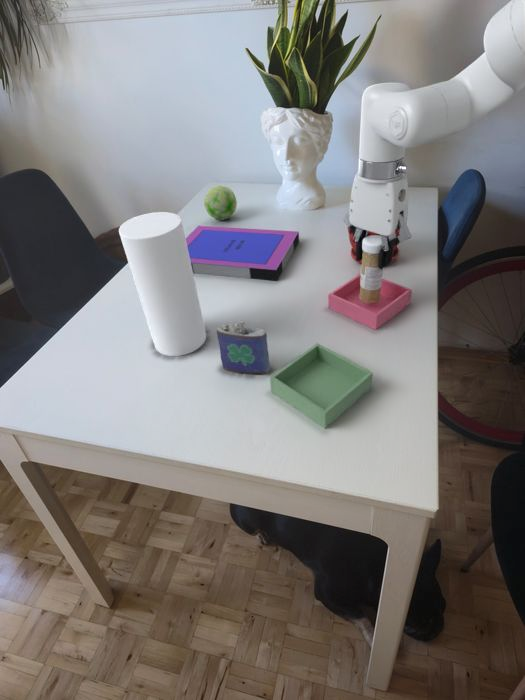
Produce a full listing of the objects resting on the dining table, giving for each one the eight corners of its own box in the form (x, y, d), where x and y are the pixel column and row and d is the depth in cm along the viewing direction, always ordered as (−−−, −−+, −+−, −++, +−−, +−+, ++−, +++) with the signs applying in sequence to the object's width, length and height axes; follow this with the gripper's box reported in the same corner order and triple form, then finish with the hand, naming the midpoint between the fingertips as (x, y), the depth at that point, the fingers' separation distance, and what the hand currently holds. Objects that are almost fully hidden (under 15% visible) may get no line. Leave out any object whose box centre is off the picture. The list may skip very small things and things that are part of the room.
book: (198, 225, 126) (298, 231, 118) (200, 235, 128) (299, 241, 119) (164, 260, 111) (276, 270, 103) (166, 270, 113) (276, 281, 104)
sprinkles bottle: (360, 291, 94) (364, 233, 86) (382, 294, 93) (388, 234, 84) (357, 303, 91) (360, 243, 83) (379, 305, 90) (385, 245, 81)
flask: (271, 366, 81) (266, 319, 74) (267, 377, 79) (262, 330, 72) (225, 360, 83) (216, 315, 77) (220, 371, 81) (210, 325, 74)
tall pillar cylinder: (216, 330, 91) (193, 215, 75) (186, 361, 84) (154, 242, 68) (175, 319, 96) (146, 208, 80) (143, 348, 89) (105, 233, 73)
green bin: (371, 387, 75) (373, 372, 72) (325, 428, 69) (325, 413, 66) (317, 357, 82) (317, 342, 80) (271, 391, 76) (269, 377, 74)
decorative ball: (229, 226, 131) (224, 193, 125) (201, 223, 135) (195, 191, 129) (244, 213, 138) (240, 181, 131) (217, 210, 142) (212, 179, 135)
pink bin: (409, 303, 93) (412, 289, 90) (375, 330, 87) (377, 315, 84) (362, 284, 100) (363, 271, 98) (328, 308, 94) (328, 294, 92)
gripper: (437, 169, 72) (421, 267, 83) (354, 154, 82) (350, 243, 94) (412, 182, 68) (399, 283, 80) (328, 165, 78) (327, 257, 90)
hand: (372, 261), depth 86 cm, fingers closed on sprinkles bottle, 4 cm apart
